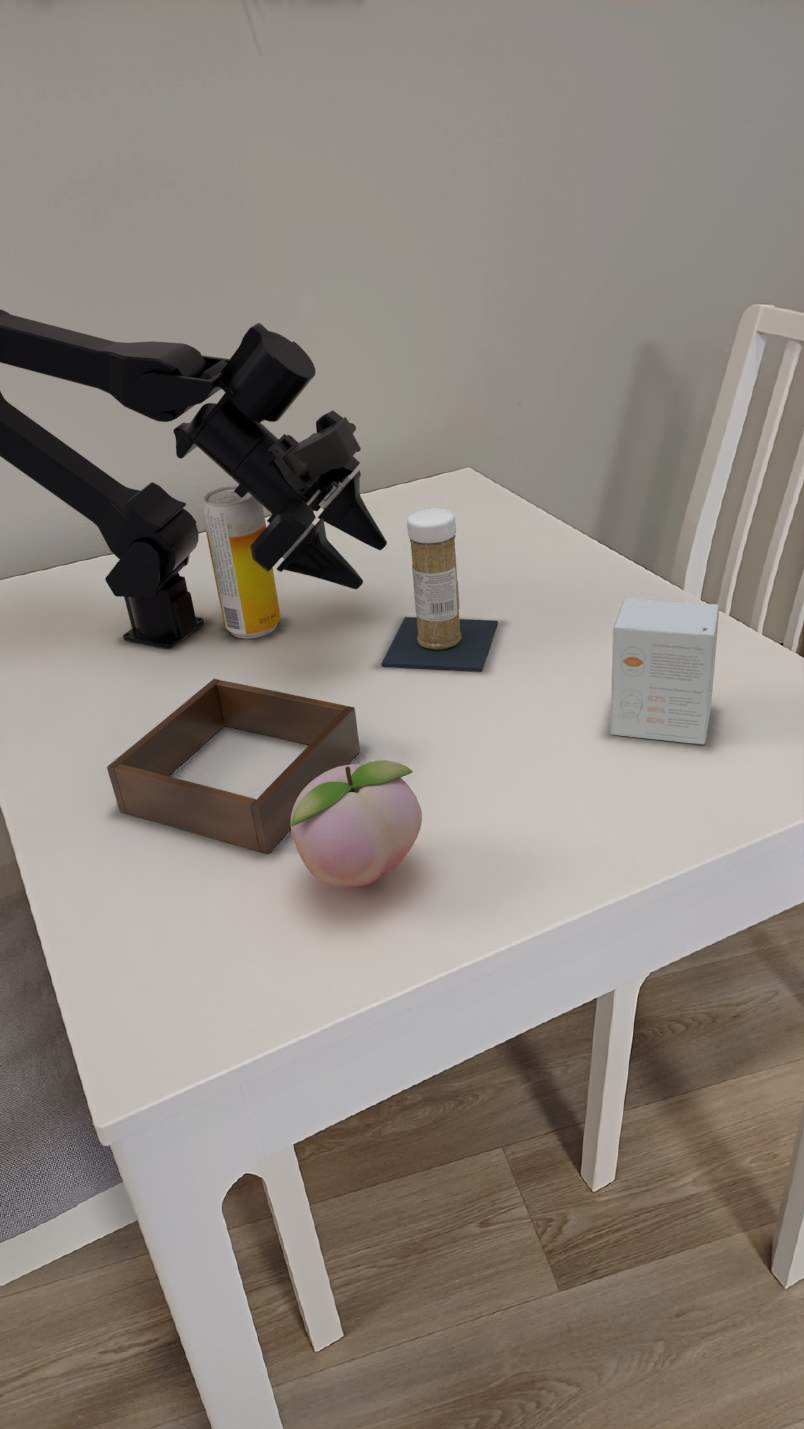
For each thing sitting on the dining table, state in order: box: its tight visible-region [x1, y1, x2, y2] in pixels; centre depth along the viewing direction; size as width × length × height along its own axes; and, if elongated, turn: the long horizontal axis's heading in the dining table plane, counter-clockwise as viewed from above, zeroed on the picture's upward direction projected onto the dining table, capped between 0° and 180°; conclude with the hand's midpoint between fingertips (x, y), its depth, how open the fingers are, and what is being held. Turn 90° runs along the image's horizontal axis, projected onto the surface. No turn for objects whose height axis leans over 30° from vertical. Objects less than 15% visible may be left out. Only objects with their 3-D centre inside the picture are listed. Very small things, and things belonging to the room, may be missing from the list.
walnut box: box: [106, 678, 361, 855], centre depth 82 cm, size 15×15×4 cm
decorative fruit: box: [290, 760, 423, 888], centre depth 69 cm, size 9×8×10 cm
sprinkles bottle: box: [406, 507, 461, 650], centre depth 97 cm, size 5×5×13 cm
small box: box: [609, 597, 720, 745], centre depth 83 cm, size 8×6×10 cm
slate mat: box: [381, 616, 499, 673], centre depth 101 cm, size 10×10×1 cm
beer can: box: [201, 485, 282, 640], centre depth 103 cm, size 6×6×15 cm
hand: (372, 565), depth 98 cm, fingers open, 9 cm apart
